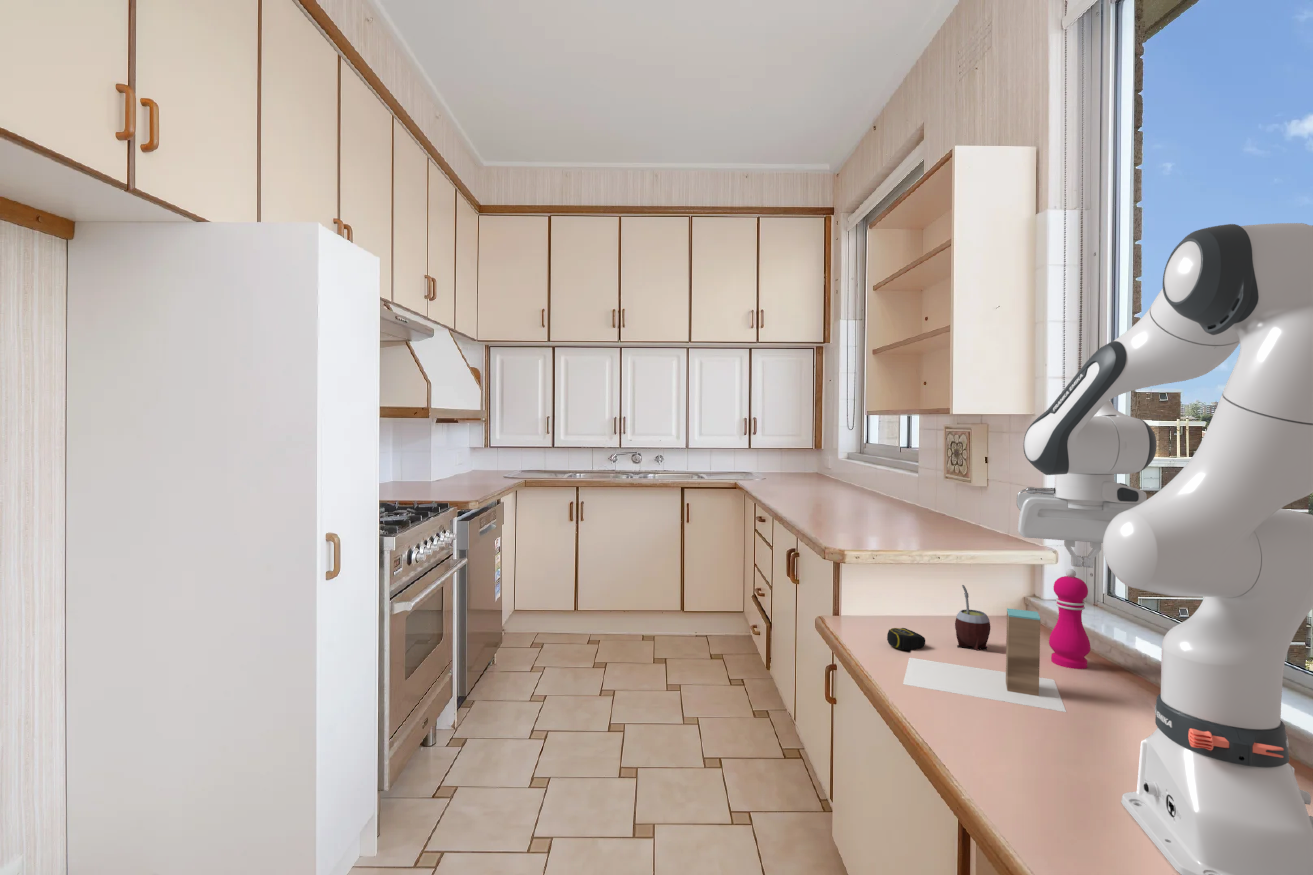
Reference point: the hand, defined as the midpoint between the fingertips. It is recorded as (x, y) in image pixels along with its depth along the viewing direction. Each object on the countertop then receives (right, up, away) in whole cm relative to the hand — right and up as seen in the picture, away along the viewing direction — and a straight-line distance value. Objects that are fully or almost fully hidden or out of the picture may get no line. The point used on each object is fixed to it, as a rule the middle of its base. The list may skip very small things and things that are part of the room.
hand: (1082, 566), depth 115 cm
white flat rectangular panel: (-15, -24, +7) cm, 29 cm away
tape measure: (-21, -24, +28) cm, 43 cm away
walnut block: (-8, -24, +4) cm, 25 cm away
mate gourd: (-6, -24, +27) cm, 37 cm away
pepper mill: (+9, -24, +18) cm, 31 cm away
